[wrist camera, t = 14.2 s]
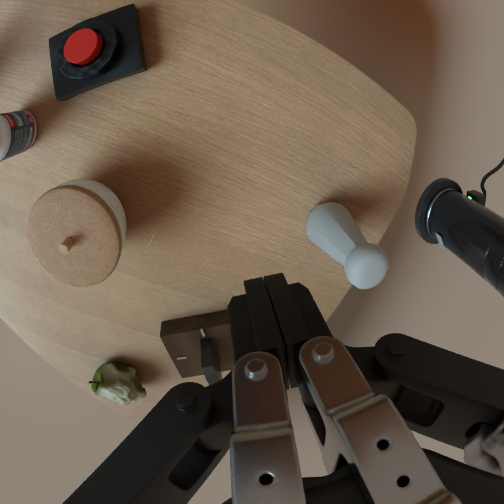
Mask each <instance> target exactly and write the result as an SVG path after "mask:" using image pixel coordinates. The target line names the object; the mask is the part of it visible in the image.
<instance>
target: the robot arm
mask: <svg viewBox="0 0 504 504" xmlns="http://www.w3.org/2000/svg"><path fill="white" fill-rule="evenodd" d="M503 164H504V159H503V160H502V161H501V163H500V164H499V165H498V166H497V167H496V168H494V169H493V170H491V171H490V172H489V173H487V174H486V175H485V176H484V177H483V179H482V181H481V189H482V192H483V194H481V193H480V192H477V191H475V190H472V191H467V196H465V195H463V194H461V193H459V192H458V191H457V190H455V189H453V188H450V187H446V188H443V189H441V190H439V191H438V192H437V193H436V194H435V195H434V196H433V197H432V199H431V200H430V202H429V204H428V207H427V210H426V213H425V228H426V231H427V233H428V234H429V235H430V236H431V237H432V238H434V239H436V240H437V241H439V244H440V247H441V248H443V249H444V250H445V248H444V246H445V247H446V248H447V249H449V250H450V251H451V252H452V253H454V254H455V255H456V256H458V257H459V258H460V259H461V260H462V261H463V262H465V263H466V264H467V265H469V266H470V267H471V268H472V269H473V270H474V271H475V272H477V273H478V274H479V275H480V276H481V277H482V278H483V279H485V280H486V281H487V282H488V283H489V284H490V285H491V286H493V287H494V288H495V289H496V290H497V291H498V292H499V293H500V294H501V295H502V296H503V297H504V218H503V217H501V216H500V215H498V214H497V213H495V212H493V211H491V210H490V209H488V208H486V207H485V201H486V190H485V188H484V183H485V181H486V179H487V178H488V177H489V176H490V175H492V174H494V173H495V172H496V171H498V170H499V169H500V168H501V167H502V166H503ZM243 282H244V286H245V291H246V294H244V295H239V296H234V297H232V299H231V301H230V303H229V305H228V312H229V320H230V328H231V336H232V343H233V351H234V360H235V361H234V366H233V368H232V370H231V371H230V373H229V374H228V375H227V376H226V377H225V378H223V379H222V380H220V381H218V382H216V383H214V384H212V385H210V386H207V387H204V386H202V385H201V384H198V383H194V382H185V383H181V384H178V385H176V386H174V387H173V388H171V389H170V390H169V391H168V392H167V393H166V394H165V396H164V397H163V398H162V399H161V400H160V401H159V402H158V403H157V404H156V406H155V407H154V408H153V409H152V410H151V411H150V412H149V413H148V414H147V416H146V417H145V418H144V419H143V420H142V421H141V422H140V423H139V424H138V425H137V426H136V428H135V429H134V430H133V431H132V432H131V433H130V434H129V435H128V436H127V437H126V438H125V439H124V441H123V442H122V443H121V444H120V445H119V446H118V447H117V448H116V449H115V450H114V451H113V452H112V453H111V455H110V456H109V457H108V458H107V459H106V460H105V461H104V462H103V463H102V464H101V465H100V466H99V467H98V468H97V469H96V470H95V471H94V472H93V473H92V474H91V475H90V476H89V477H88V478H87V480H85V481H84V482H83V483H82V484H81V485H80V486H79V487H78V488H77V489H76V490H75V491H74V493H73V494H72V495H71V496H70V497H69V498H68V499H67V500H66V501H65V502H63V504H187V503H188V502H189V500H190V499H191V498H192V497H193V495H194V494H195V493H196V492H197V491H198V489H199V488H200V487H201V486H202V484H203V483H204V482H205V480H206V479H207V478H208V477H209V475H210V474H211V473H212V471H213V470H214V469H215V467H216V466H217V465H218V463H219V462H220V461H221V459H222V458H223V457H224V455H225V454H226V452H227V451H228V450H229V448H230V467H231V488H232V497H231V498H230V499H228V500H227V501H225V502H224V503H222V504H504V370H503V369H500V368H497V367H494V366H491V365H488V364H485V363H483V362H480V361H477V360H474V359H471V358H468V357H465V356H462V355H460V354H456V353H454V352H451V351H448V350H445V349H443V348H440V347H437V346H434V345H431V344H429V343H426V342H423V341H420V340H418V339H415V338H412V337H409V336H406V335H404V334H398V333H392V334H387V335H385V336H383V337H381V338H380V339H379V340H378V341H377V343H376V345H375V347H349V346H346V345H344V344H343V343H342V342H341V341H339V340H338V339H336V338H334V337H333V336H332V334H331V332H330V330H329V328H328V326H327V324H326V322H325V320H324V318H323V316H322V314H321V312H320V311H319V309H318V307H317V305H316V303H315V301H314V300H313V297H312V295H311V293H310V291H309V289H308V288H306V287H305V286H303V285H302V284H300V283H299V282H298V283H294V284H289V285H288V283H287V281H286V279H285V277H284V274H283V273H278V274H273V275H268V276H264V281H263V278H262V277H259V278H255V279H250V280H245V281H243ZM288 379H289V382H288ZM289 383H290V386H291V388H295V387H299V391H300V394H301V399H302V406H303V409H304V411H305V414H306V416H307V418H308V421H309V423H310V426H311V428H312V430H313V433H314V435H315V437H316V440H317V442H318V444H319V447H320V449H321V453H322V458H323V461H324V465H325V467H326V470H327V472H328V475H327V476H323V477H305V478H302V477H301V471H300V465H299V459H298V454H297V448H296V443H295V437H294V432H293V427H292V424H291V418H290V413H289V407H288V398H287V391H286V390H287V389H289ZM410 430H412V431H415V432H417V433H420V434H422V435H425V436H427V437H430V438H433V439H435V440H438V441H441V442H444V443H446V444H449V445H452V446H455V447H457V448H461V449H463V450H464V455H465V456H464V461H465V463H466V464H464V463H462V462H459V461H456V460H454V459H451V458H449V457H446V456H444V455H441V454H439V453H436V452H434V451H431V450H428V449H423V448H421V447H420V445H419V443H418V442H417V440H416V439H415V437H414V435H413V434H412V432H411V431H410ZM467 464H468V465H467ZM470 465H471V466H470Z"/></svg>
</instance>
